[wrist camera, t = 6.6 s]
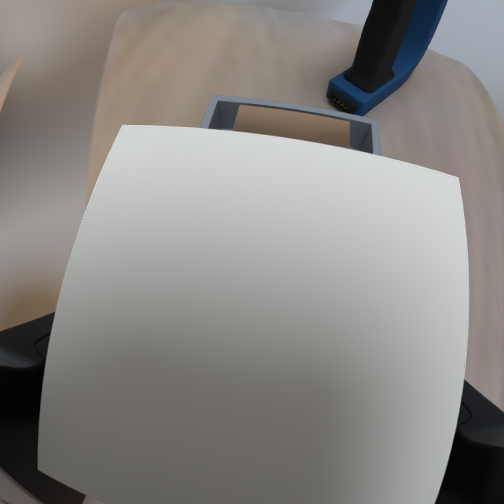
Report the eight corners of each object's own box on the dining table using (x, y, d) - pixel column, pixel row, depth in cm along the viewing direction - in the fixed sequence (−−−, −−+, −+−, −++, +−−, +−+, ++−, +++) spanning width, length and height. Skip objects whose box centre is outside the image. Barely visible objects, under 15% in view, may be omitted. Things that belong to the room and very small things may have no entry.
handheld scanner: (305, 104, 27) (340, -90, 8) (386, 55, 30) (430, -72, 12) (343, 132, 26) (409, -67, 8) (416, 75, 29) (472, -51, 11)
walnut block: (335, 218, 22) (349, 191, 19) (226, 201, 23) (221, 171, 19) (338, 153, 24) (349, 121, 21) (241, 138, 25) (239, 104, 21)
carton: (304, 414, 14) (424, 535, 2) (191, 395, 14) (34, 470, 3) (321, 304, 16) (460, 175, 4) (212, 286, 16) (121, 122, 5)
